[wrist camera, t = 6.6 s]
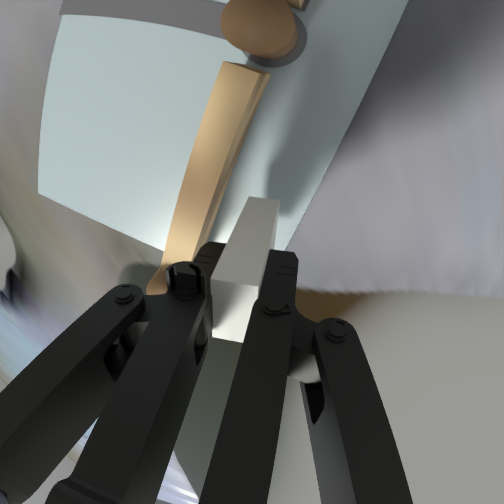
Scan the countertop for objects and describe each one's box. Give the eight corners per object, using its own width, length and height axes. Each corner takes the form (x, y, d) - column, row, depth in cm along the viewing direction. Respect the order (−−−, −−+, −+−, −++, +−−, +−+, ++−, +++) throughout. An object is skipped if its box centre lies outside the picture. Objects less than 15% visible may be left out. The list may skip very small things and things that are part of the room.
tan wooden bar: (237, 61, 12) (209, 57, 9) (277, 76, 12) (264, 76, 9) (173, 256, 19) (144, 300, 15) (202, 268, 19) (178, 316, 16)
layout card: (38, 189, 19) (34, 192, 19) (153, -150, 3) (150, -153, 3) (262, 288, 20) (261, 293, 20) (445, -93, 4) (448, -95, 4)
